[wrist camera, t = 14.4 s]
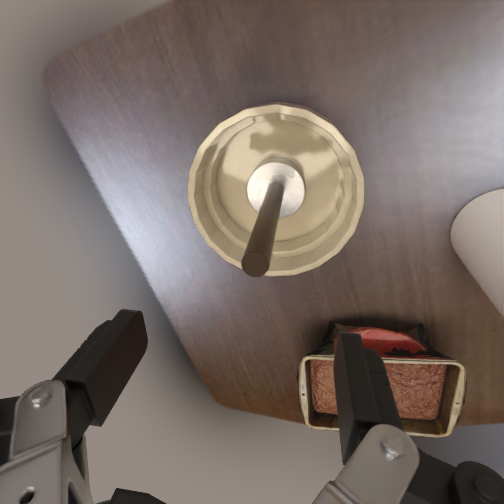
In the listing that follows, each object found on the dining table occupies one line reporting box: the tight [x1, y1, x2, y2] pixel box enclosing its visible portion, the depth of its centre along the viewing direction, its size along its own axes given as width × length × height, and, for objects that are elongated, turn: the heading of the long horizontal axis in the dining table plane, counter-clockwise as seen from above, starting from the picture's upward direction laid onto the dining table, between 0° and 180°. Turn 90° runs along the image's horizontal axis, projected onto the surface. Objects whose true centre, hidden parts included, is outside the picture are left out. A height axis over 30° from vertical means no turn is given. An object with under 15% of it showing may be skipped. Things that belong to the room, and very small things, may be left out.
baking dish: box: [297, 322, 467, 437], centre depth 38 cm, size 14×18×10 cm
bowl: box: [188, 101, 364, 276], centre depth 30 cm, size 15×15×6 cm
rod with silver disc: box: [241, 157, 305, 277], centre depth 25 cm, size 6×6×16 cm
